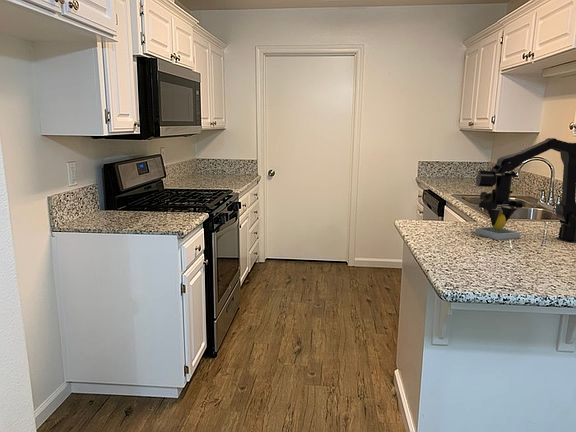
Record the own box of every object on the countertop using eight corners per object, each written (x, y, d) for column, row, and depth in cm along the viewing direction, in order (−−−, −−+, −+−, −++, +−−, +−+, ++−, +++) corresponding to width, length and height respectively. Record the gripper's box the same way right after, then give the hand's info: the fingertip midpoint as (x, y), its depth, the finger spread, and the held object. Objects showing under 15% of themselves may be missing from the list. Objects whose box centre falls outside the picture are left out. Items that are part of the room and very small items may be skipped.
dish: (519, 238, 184) (519, 232, 184) (497, 240, 180) (498, 234, 179) (495, 232, 195) (496, 226, 195) (474, 233, 190) (475, 228, 190)
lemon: (506, 232, 184) (508, 213, 182) (492, 231, 185) (494, 212, 183) (502, 229, 189) (504, 211, 188) (488, 229, 190) (490, 210, 189)
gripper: (503, 184, 194) (498, 219, 197) (470, 185, 187) (466, 222, 190) (525, 188, 184) (520, 225, 187) (492, 189, 177) (487, 227, 180)
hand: (498, 224), depth 186 cm, fingers open, 6 cm apart
